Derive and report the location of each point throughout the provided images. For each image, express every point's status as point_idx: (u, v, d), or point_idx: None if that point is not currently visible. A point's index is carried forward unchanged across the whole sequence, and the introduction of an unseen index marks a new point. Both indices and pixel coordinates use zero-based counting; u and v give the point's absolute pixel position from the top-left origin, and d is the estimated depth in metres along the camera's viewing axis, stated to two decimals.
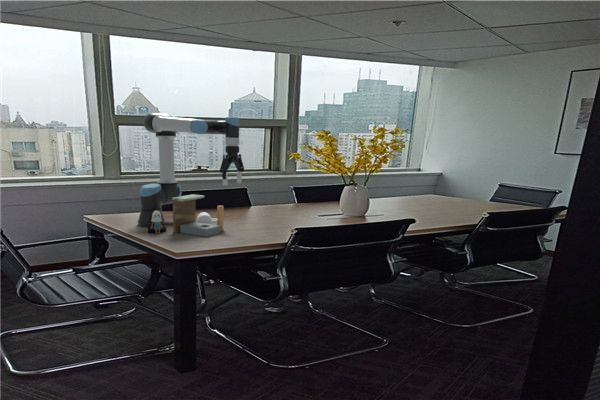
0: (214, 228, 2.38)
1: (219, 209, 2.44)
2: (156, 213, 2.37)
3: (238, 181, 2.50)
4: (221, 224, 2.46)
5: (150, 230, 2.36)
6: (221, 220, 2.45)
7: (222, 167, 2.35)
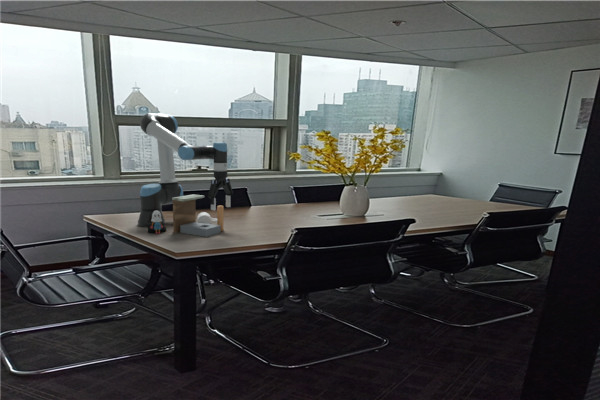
0: (214, 228, 2.38)
1: (219, 209, 2.44)
2: (156, 213, 2.37)
3: (227, 205, 2.51)
4: (221, 224, 2.46)
5: (150, 230, 2.36)
6: (221, 220, 2.45)
7: (210, 193, 2.36)
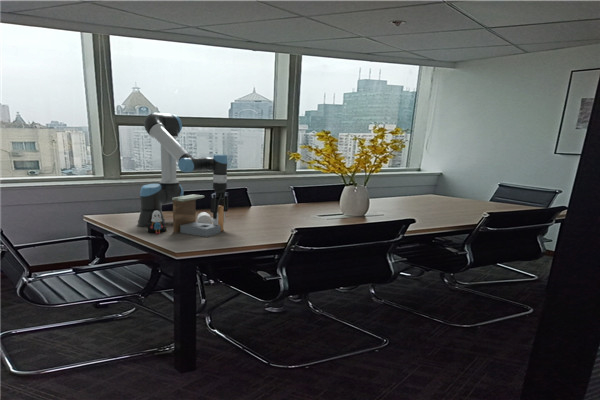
0: (214, 228, 2.38)
1: (219, 209, 2.44)
2: (156, 213, 2.37)
3: None
4: (221, 224, 2.46)
5: (150, 230, 2.36)
6: (221, 220, 2.45)
7: (212, 207, 2.39)
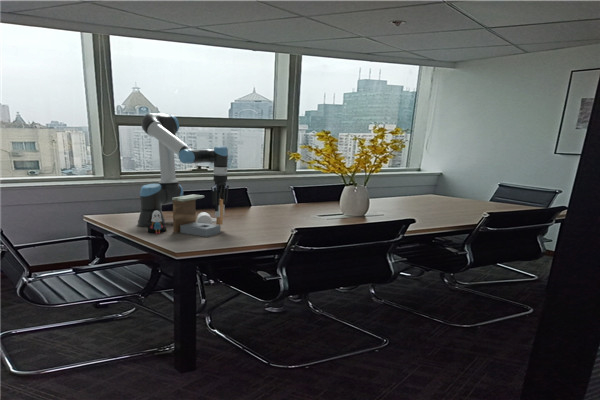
0: (214, 228, 2.38)
1: (219, 202, 2.44)
2: (156, 213, 2.37)
3: None
4: (220, 217, 2.46)
5: (150, 230, 2.36)
6: (220, 213, 2.45)
7: (214, 200, 2.40)
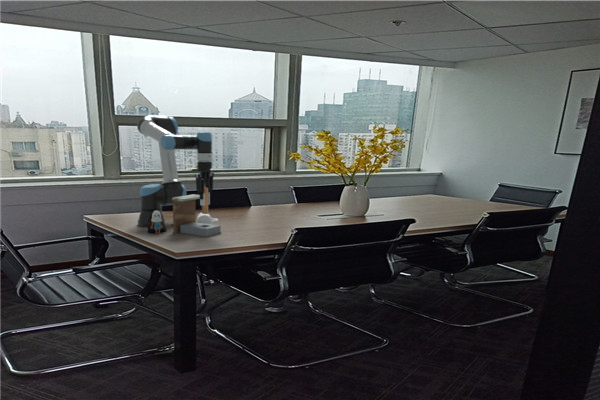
0: (214, 228, 2.38)
1: None
2: (156, 213, 2.37)
3: None
4: (206, 206, 2.36)
5: (150, 230, 2.36)
6: (206, 202, 2.36)
7: (198, 188, 2.31)
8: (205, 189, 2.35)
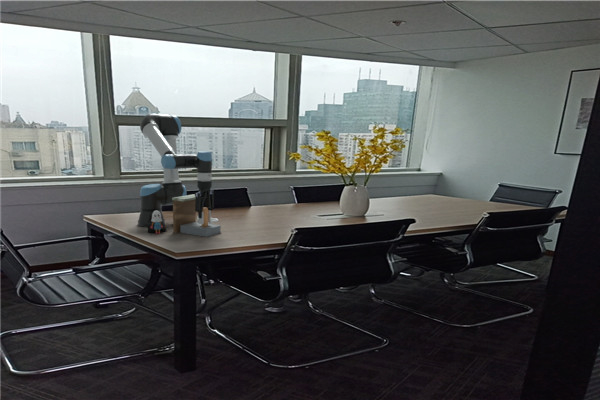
0: (214, 228, 2.38)
1: (203, 211, 2.37)
2: (156, 213, 2.37)
3: None
4: (205, 226, 2.38)
5: (150, 230, 2.36)
6: (205, 222, 2.38)
7: (197, 206, 2.32)
8: (205, 209, 2.37)
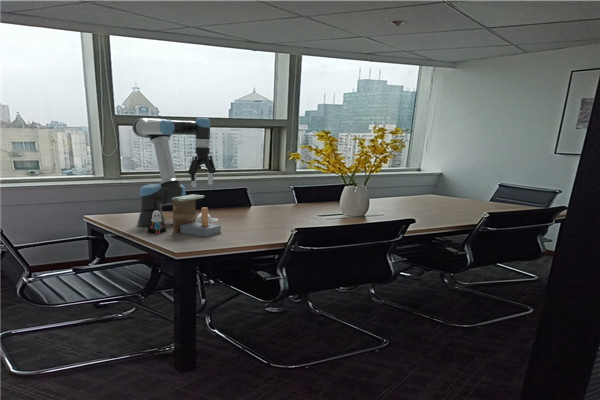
0: (214, 228, 2.38)
1: (203, 211, 2.37)
2: (156, 213, 2.37)
3: (209, 182, 2.48)
4: (205, 226, 2.38)
5: (150, 230, 2.36)
6: (205, 222, 2.38)
7: (191, 169, 2.32)
8: (205, 209, 2.37)
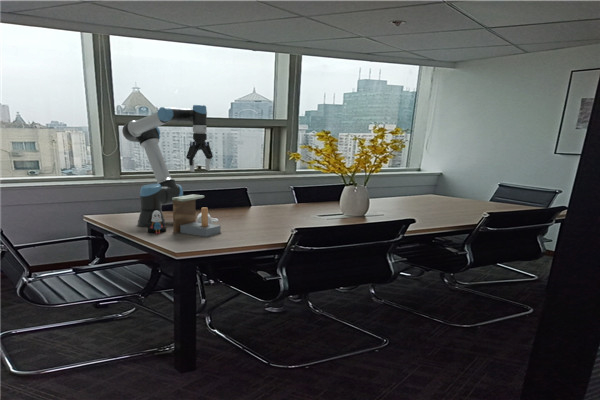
0: (214, 228, 2.38)
1: (203, 211, 2.37)
2: (156, 213, 2.37)
3: (206, 168, 2.56)
4: (205, 226, 2.38)
5: (150, 230, 2.36)
6: (205, 222, 2.38)
7: (189, 154, 2.41)
8: (205, 209, 2.37)
